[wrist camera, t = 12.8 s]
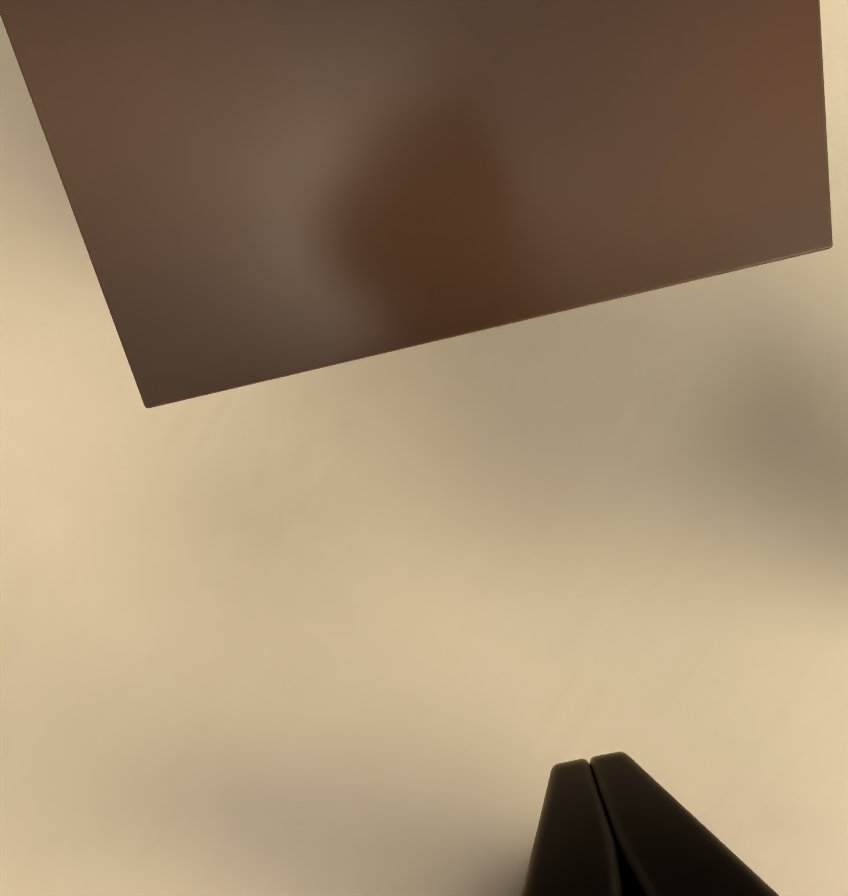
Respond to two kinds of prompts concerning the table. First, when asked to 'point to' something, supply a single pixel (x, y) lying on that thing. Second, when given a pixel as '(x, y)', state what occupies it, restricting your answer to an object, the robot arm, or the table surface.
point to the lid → (414, 164)
